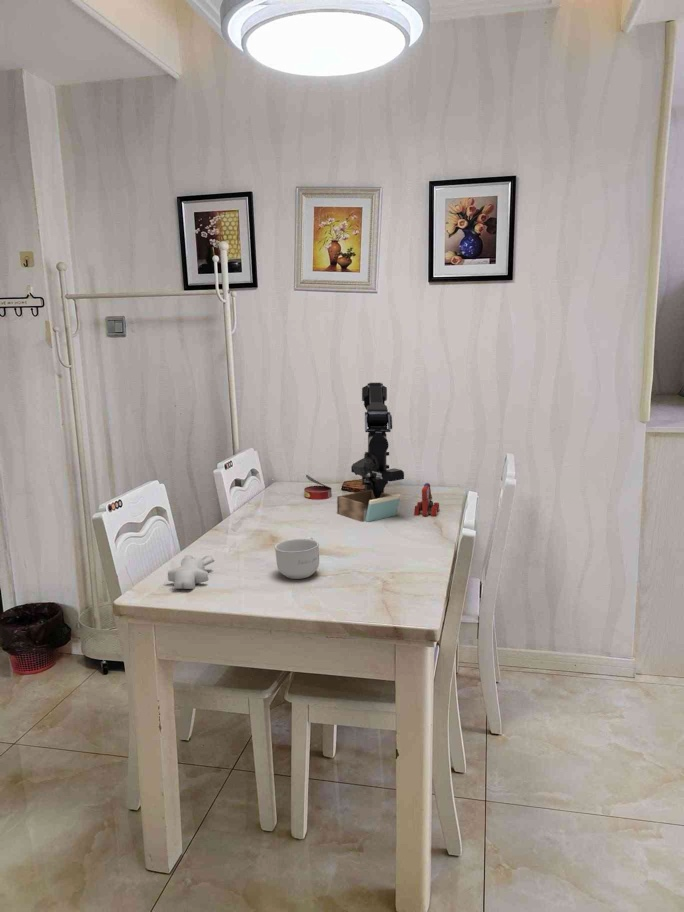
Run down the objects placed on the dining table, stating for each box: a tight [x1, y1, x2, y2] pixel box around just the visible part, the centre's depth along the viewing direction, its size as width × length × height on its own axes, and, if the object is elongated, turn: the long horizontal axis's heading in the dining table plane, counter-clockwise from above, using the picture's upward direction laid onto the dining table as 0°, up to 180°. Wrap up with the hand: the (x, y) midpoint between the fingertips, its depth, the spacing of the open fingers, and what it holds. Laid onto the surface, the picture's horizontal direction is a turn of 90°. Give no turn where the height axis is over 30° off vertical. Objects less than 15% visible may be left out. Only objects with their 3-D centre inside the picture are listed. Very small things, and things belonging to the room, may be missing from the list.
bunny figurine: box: [167, 554, 215, 590], centre depth 163 cm, size 10×5×15 cm
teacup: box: [274, 536, 320, 580], centre depth 167 cm, size 14×11×8 cm
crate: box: [336, 490, 392, 523], centre depth 216 cm, size 12×14×7 cm
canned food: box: [304, 474, 333, 501], centre depth 244 cm, size 11×10×10 cm
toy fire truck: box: [413, 482, 440, 518], centre depth 217 cm, size 7×12×10 cm, turn 165°
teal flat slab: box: [364, 493, 401, 523], centre depth 210 cm, size 1×12×7 cm, turn 129°
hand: (377, 498), depth 211 cm, fingers closed
